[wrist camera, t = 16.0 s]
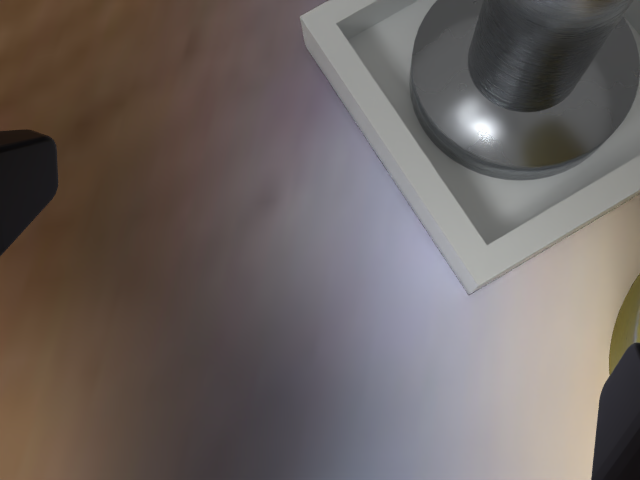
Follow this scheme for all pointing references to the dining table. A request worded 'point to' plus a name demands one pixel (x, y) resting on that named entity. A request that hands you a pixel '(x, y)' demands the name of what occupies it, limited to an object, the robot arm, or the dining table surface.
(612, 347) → the flower pot
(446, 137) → the steel stop
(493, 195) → the tray
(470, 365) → the dining table surface
